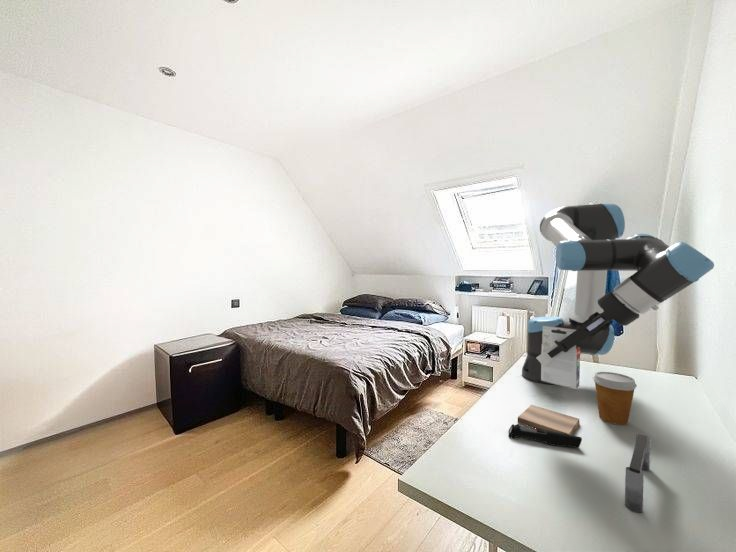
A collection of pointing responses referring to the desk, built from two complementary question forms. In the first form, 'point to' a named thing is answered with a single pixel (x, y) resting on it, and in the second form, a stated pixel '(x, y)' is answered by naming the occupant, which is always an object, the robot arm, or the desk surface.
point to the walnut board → (548, 420)
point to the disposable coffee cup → (614, 396)
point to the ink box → (560, 360)
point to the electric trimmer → (544, 436)
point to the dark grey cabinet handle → (637, 473)
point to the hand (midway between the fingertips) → (543, 359)
